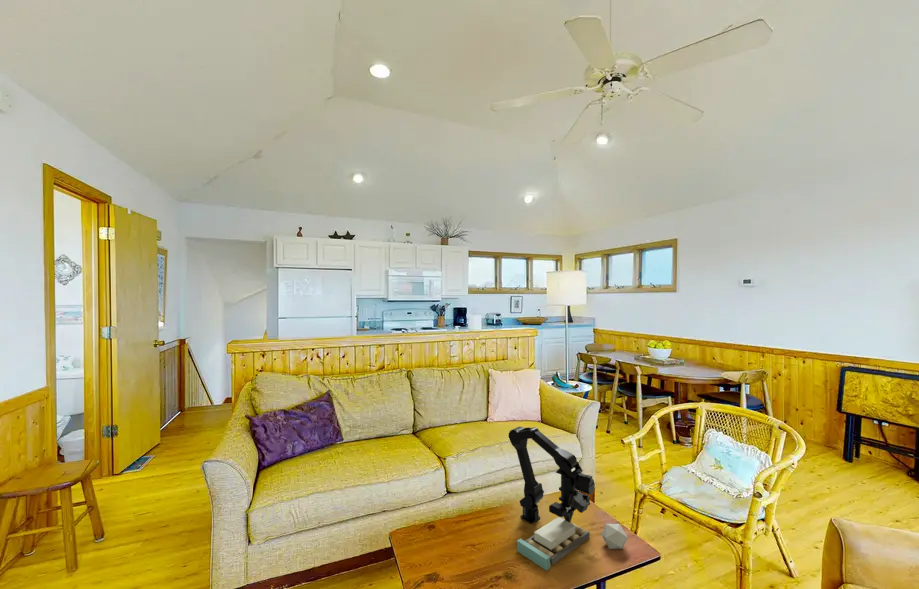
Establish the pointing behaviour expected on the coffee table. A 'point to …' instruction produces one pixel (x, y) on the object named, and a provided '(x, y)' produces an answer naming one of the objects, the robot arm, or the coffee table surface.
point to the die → (614, 536)
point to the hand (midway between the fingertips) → (568, 523)
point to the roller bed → (562, 544)
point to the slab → (554, 533)
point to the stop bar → (533, 554)
